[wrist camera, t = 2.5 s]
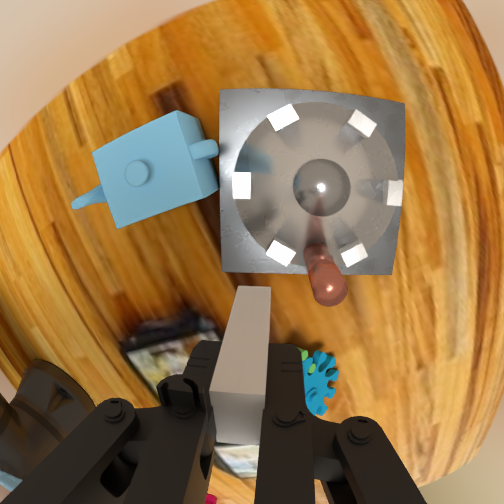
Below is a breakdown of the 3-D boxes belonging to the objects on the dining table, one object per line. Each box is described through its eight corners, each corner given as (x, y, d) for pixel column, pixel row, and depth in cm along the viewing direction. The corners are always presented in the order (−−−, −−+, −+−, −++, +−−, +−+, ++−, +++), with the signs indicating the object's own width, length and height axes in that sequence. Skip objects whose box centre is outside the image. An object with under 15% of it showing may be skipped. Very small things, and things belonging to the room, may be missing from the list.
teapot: (123, 222, 26) (77, 246, 19) (104, 164, 24) (52, 172, 17) (240, 181, 23) (224, 193, 16) (218, 114, 22) (193, 97, 15)
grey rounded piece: (236, 258, 23) (221, 303, 16) (235, 103, 19) (217, 78, 12) (382, 262, 23) (419, 304, 16) (392, 114, 19) (441, 102, 12)
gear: (341, 406, 30) (283, 456, 23) (305, 391, 34) (247, 431, 28) (343, 328, 28) (273, 376, 21) (300, 317, 32) (230, 353, 26)
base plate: (225, 263, 26) (221, 272, 24) (223, 94, 21) (219, 89, 19) (384, 266, 25) (392, 275, 23) (395, 106, 20) (405, 103, 18)
